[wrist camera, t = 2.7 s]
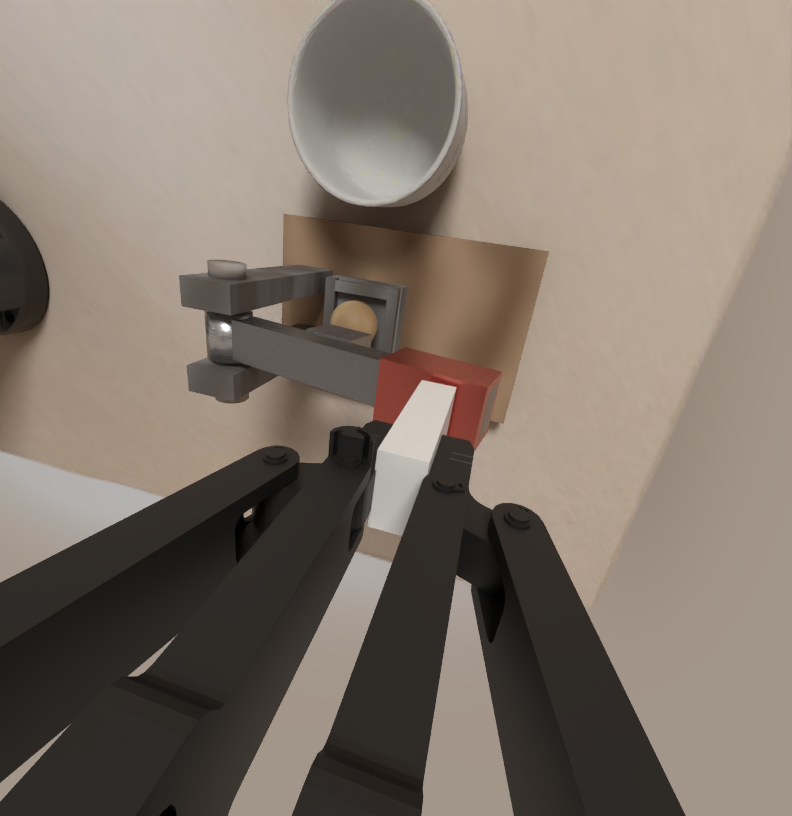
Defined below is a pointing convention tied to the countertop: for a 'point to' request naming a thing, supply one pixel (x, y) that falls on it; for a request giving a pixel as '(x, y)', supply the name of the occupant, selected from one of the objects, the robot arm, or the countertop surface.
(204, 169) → the countertop surface
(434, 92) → the teacup
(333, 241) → the press base
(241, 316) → the lever
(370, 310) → the walnut
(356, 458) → the robot arm
